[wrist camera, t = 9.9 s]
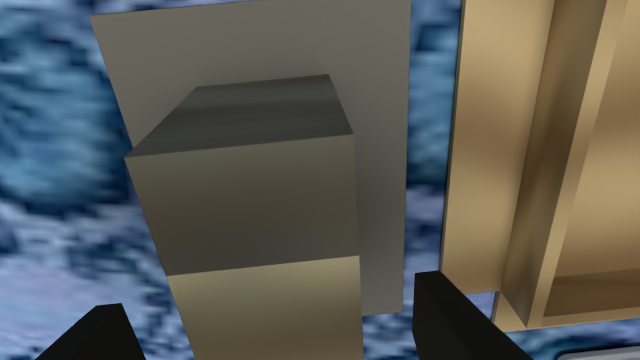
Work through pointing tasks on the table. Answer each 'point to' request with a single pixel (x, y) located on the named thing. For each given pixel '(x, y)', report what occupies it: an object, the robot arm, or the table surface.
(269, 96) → the capped block
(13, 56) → the table surface
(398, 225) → the gray panel
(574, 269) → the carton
